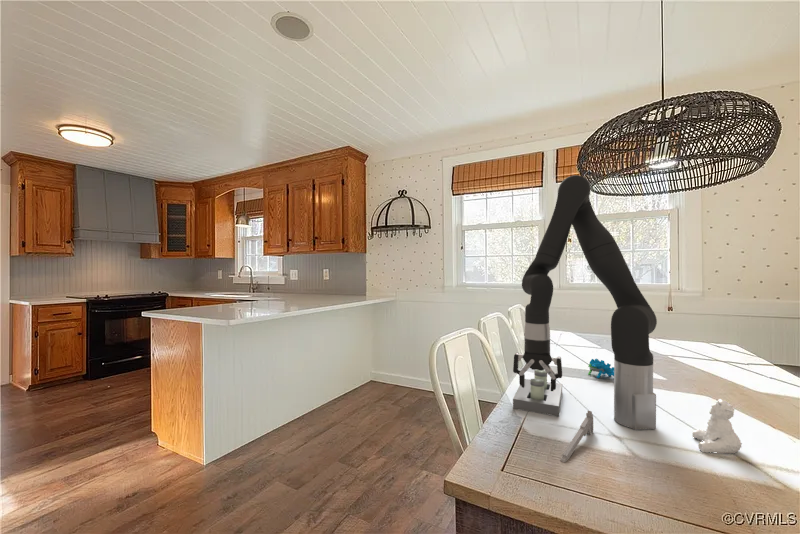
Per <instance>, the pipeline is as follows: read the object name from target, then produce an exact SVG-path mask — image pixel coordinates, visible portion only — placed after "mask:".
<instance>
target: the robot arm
mask: <svg viewBox="0 0 800 534" xmlns="http://www.w3.org/2000/svg"><path fill="white" fill-rule="evenodd" d="M590 195H591V184H590V183H589V180H588V179H587V178H586V177H584V176H583V175H579V174H574V175H570V176H567V177H566V178H564V179H563V180H562V181H561V183H560V184H559V186H558V189H557V198H556V201H555V206H554V209H553V212H552V216H551V218H550V221H549V224H548V226H547V228H546V230H545V233H544V235H543V237H542V240H541V242H540V245H539V247H538V249H537V252H536V254H535V257H534V259H533V260H532V261H531V264H530V265H529V266H528V268H527V269H526V271H525V272H524V274H523V277H522V280H521V288H522V290H523V292H524V293H525V294H527V295H530V302H529V303H528V304H527V305H525V309H524V310H525V311H524V314H525V315H524V316H525V317H524V318H525V319H524V332H523V336H524V337H523V338H524V340H523V341H524V342H523V343H524V352H523V353H524V354H520V353H519V352H516V353H515V354H514V355H513V368H512V371H513V373H514V374H517V375H519V379H518V380H519V386H520V385H522V387H523V388H524V387H525V379H526V378H525V377H526V376H525V373H526V372H527V371H528V370H529V369H531V370H533V371H534V370H541V371H542V370H545V371H546V372H547V375H549V377H550V382H551V391H553V390H555V389H556V383H557V379H562V378H563V364H562V357H561V356H557V357H554V356H553V357H552V355H551V327H550V307H551V303H552V298H553V295H554V284H553V280H552V278H551V277H550V276H549V273H550V272H551V271H552V270H555V269H556V267H557V266H558V265H559V262H560V260H561V258H562V255H563V253H564V250H565V246H566V244H567V240H568V238H569V234H570V231H571V228H572V227H573V229H574V232H575V235H576V238H577V240H578V243H579V245H580V248H581V251H582V253H583V255H584V258H585V260H586V262H587V264H588V267H589V268H590V269H591V271H592V273H593V274H594V275H595V276H596V278H597V279H598V280H599V281H600V282H601V283H602V284H603V285H604V287H605V288H606V289H607V290H608V291H609V293H610V295H611V297H612V298H613V301H614V303H615V305H616V309H615V310H614V311H613V313H612V315H611V320H610V339H611V349H612V352H613V356H614V357H613V359H614V360H613V363H614V364H613V365H614V366H613V367H614V376H613V377H614V378H613V379H614V380H613V385H614V386H613V392H614V393H613V419H614V422H617V424H620V425H622V426H625V427H628V428H630V429H633V430H636V431H637V430H638V431H640V430H641V431H642V430H656V429H657V394H656V393H654V354H653V353H652V352H651V350H650V336H649V335H650V334H651V333H653V332H655V329H656V327H657V323H658V319H657V316H656V313H655V311H654V310H653V309H652V307H651V306H650V303H649V302H648V301H647V299H646V298H645V297H644V296H645V295H643V293H642V292H641V290H640V289H639V286H638V285H637V283H636V281H635V279H634V277H633V275H632V272H631V270H630V267H629V265H628V264H627V262H626V259H625V257H624V256H623V254H622V253H623V252H622V251H621V249H620V248H619V245H618V243H617V241H616V239H615V238H614V237H613V235H612V234H611V232H610V231H609V230H608V229H607V228H606V227H605V226H604V224H603V223H602V222H601V221H600V220H599V218H598V217H597V215H596V213H595V211H594V208H593V205H592V203H591V199H590ZM522 359H523V360H524V361H523V362H525V364H524V365H523V366H522V368H521V369H520V368H519V362H521V360H522ZM551 363H554V365H555V366H556V368H557V369H556V370H557V373H555V372H554V370H553V369H552V366H551V365H550V364H551Z"/></svg>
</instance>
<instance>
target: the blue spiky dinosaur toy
mask: <svg viewBox="0 0 800 534" xmlns="http://www.w3.org/2000/svg"><path fill="white" fill-rule="evenodd" d="M611 366H612V364H611V363H606V362H605V360H602V359H601V360H599V358H591V360H590V361H589V364H588V368H589V371H588V373H587V374H588V376H591V373H592V372H596V373H597V375H596V378H597V379H601V376H602V375H604V376H605V375H607V376H608V377H614V366H612V367H611Z"/></svg>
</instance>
